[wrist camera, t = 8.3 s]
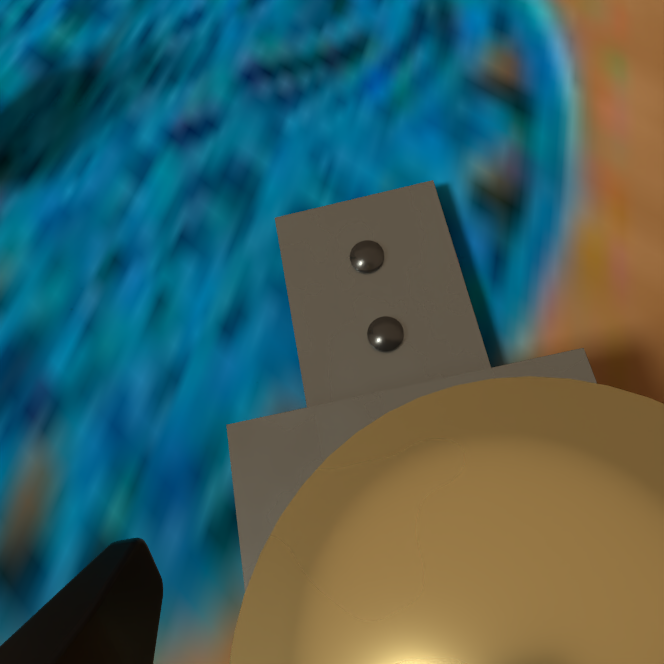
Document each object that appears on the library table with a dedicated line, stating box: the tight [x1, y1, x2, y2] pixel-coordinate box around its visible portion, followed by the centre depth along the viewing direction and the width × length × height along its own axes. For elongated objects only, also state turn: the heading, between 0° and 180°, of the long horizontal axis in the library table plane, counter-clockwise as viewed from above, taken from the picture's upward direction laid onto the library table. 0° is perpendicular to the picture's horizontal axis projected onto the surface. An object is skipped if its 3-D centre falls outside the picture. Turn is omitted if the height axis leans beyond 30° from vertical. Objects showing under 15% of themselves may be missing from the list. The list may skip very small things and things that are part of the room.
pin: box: [229, 376, 664, 664], centre depth 10 cm, size 4×4×14 cm
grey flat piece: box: [227, 180, 597, 592], centre depth 15 cm, size 26×10×3 cm, turn 11°
